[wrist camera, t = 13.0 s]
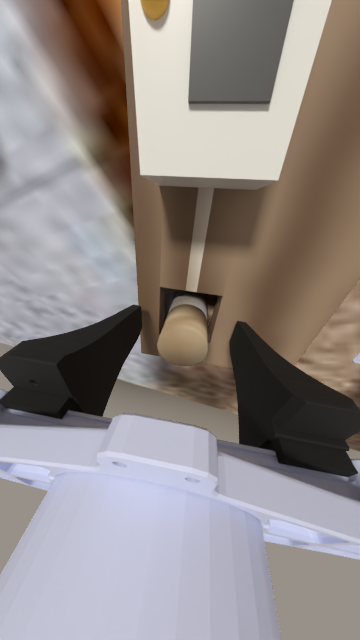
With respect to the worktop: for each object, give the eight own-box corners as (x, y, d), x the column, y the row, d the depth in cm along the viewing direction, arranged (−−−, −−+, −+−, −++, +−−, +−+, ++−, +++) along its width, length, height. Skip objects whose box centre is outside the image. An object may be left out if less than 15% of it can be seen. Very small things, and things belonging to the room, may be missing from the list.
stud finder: (340, -155, 4) (614, -898, 1) (256, 190, 8) (282, 178, 5) (153, -132, 5) (71, -665, 2) (159, 185, 9) (136, 172, 6)
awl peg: (209, 290, 14) (211, 332, 9) (204, 320, 16) (203, 369, 11) (173, 286, 14) (156, 325, 9) (172, 316, 16) (157, 362, 11)
